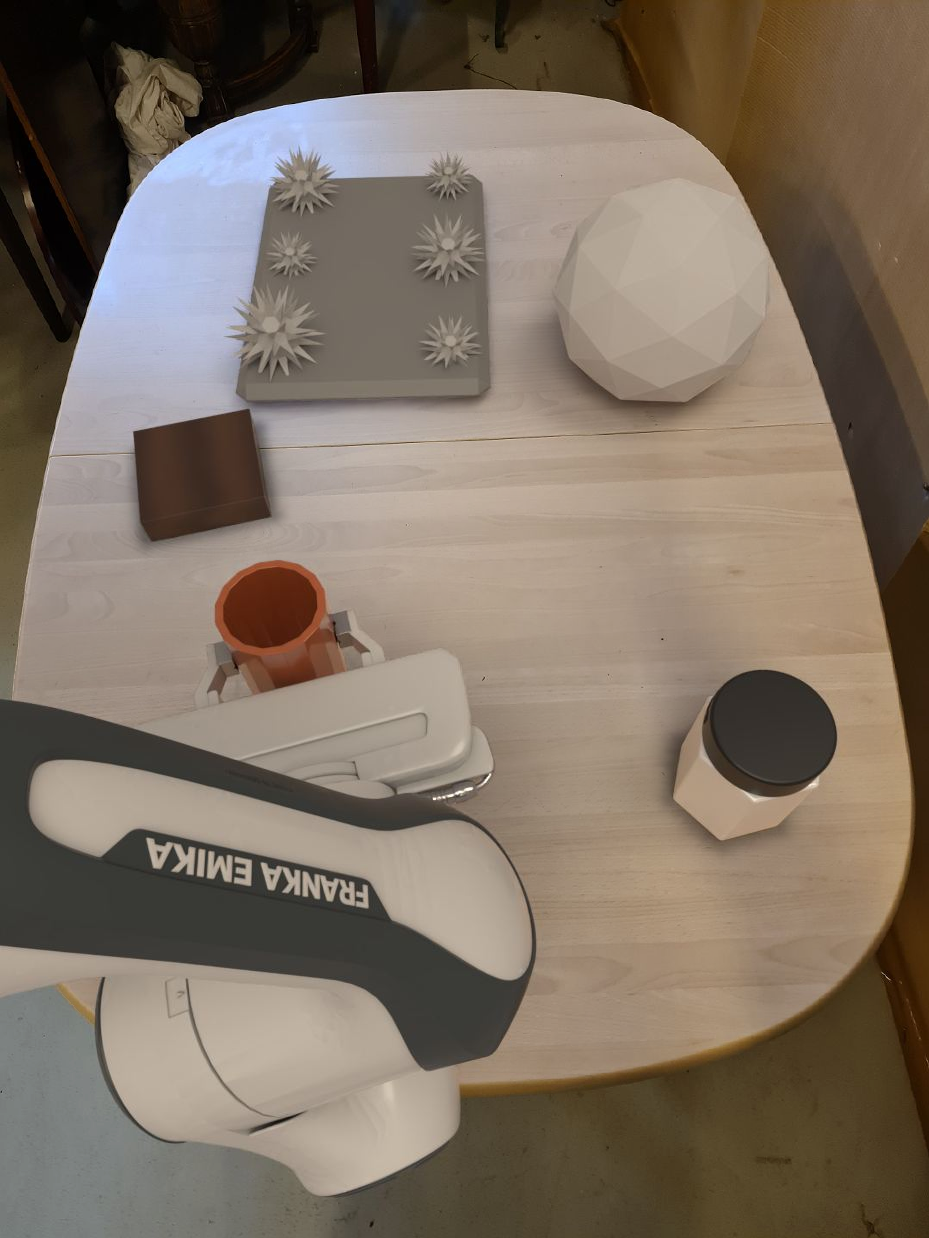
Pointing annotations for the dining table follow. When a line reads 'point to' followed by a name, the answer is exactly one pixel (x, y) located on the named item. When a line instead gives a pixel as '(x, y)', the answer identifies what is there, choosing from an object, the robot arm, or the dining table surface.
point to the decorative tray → (367, 288)
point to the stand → (199, 475)
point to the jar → (754, 753)
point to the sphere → (663, 291)
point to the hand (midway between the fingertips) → (282, 631)
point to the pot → (278, 626)
